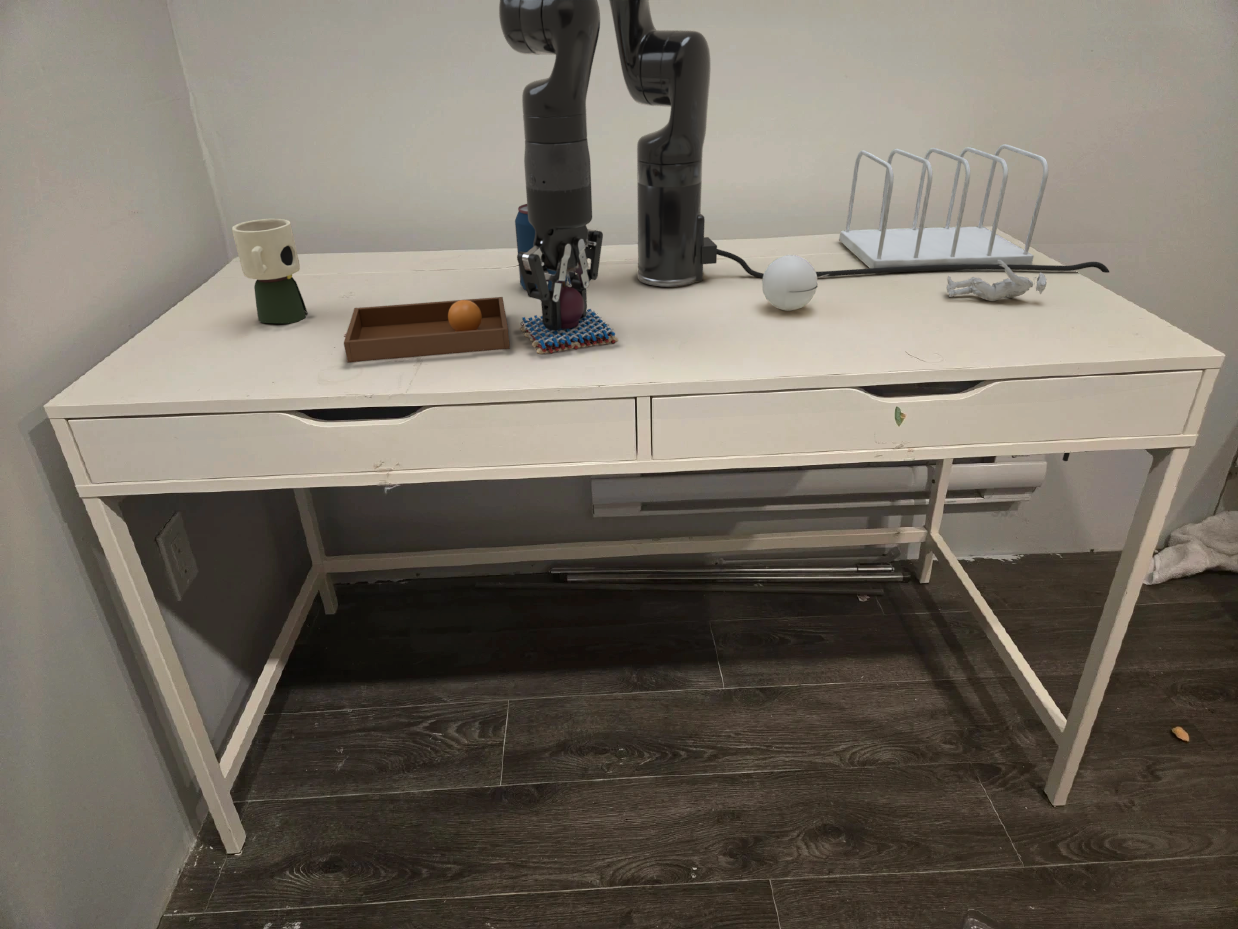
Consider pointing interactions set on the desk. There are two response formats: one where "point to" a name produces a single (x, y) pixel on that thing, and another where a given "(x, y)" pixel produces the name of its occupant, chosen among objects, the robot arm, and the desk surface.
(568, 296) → the plum
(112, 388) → the desk surface
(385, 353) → the tray
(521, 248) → the soda can
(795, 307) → the seamed sphere
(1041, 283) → the soldier figure
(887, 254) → the file sorter
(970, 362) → the desk surface
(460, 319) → the apricot
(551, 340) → the woven mat
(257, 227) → the character mug
